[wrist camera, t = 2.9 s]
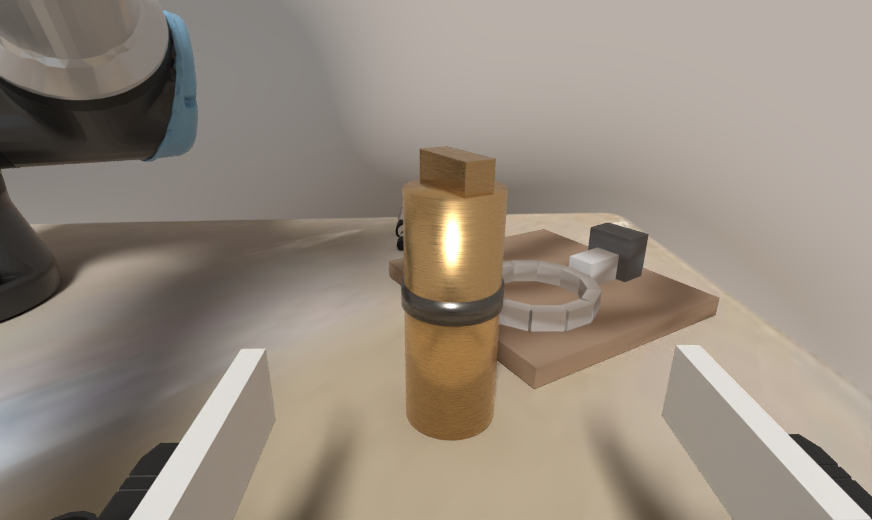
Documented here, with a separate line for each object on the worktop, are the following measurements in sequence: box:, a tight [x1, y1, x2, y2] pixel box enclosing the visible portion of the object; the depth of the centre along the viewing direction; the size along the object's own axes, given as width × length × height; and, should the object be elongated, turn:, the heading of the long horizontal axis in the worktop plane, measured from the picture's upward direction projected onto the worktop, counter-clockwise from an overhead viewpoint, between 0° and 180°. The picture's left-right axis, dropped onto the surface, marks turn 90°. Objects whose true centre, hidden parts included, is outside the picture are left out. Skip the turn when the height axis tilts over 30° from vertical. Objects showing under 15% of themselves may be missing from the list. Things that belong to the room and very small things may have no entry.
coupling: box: [401, 146, 508, 440], centre depth 26 cm, size 5×5×15 cm
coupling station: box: [389, 223, 719, 389], centre depth 42 cm, size 20×19×5 cm
